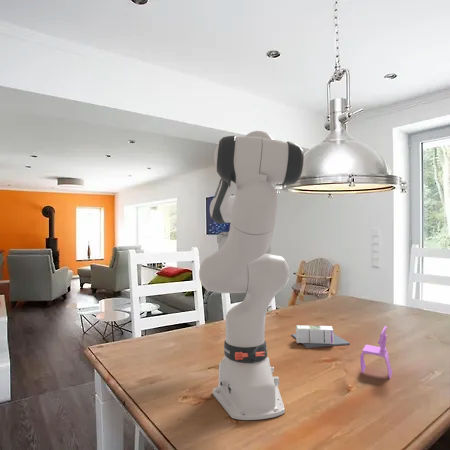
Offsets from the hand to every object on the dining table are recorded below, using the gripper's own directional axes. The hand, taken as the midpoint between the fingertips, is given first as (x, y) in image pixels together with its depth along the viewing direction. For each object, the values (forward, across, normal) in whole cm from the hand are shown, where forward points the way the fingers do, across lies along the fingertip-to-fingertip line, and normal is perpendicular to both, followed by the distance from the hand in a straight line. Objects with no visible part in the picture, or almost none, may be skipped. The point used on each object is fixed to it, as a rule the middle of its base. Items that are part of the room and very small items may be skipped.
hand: (244, 268), depth 134 cm
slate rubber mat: (+31, +33, +6) cm, 46 cm away
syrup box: (+28, +22, +5) cm, 36 cm away
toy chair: (+31, +36, -28) cm, 55 cm away
